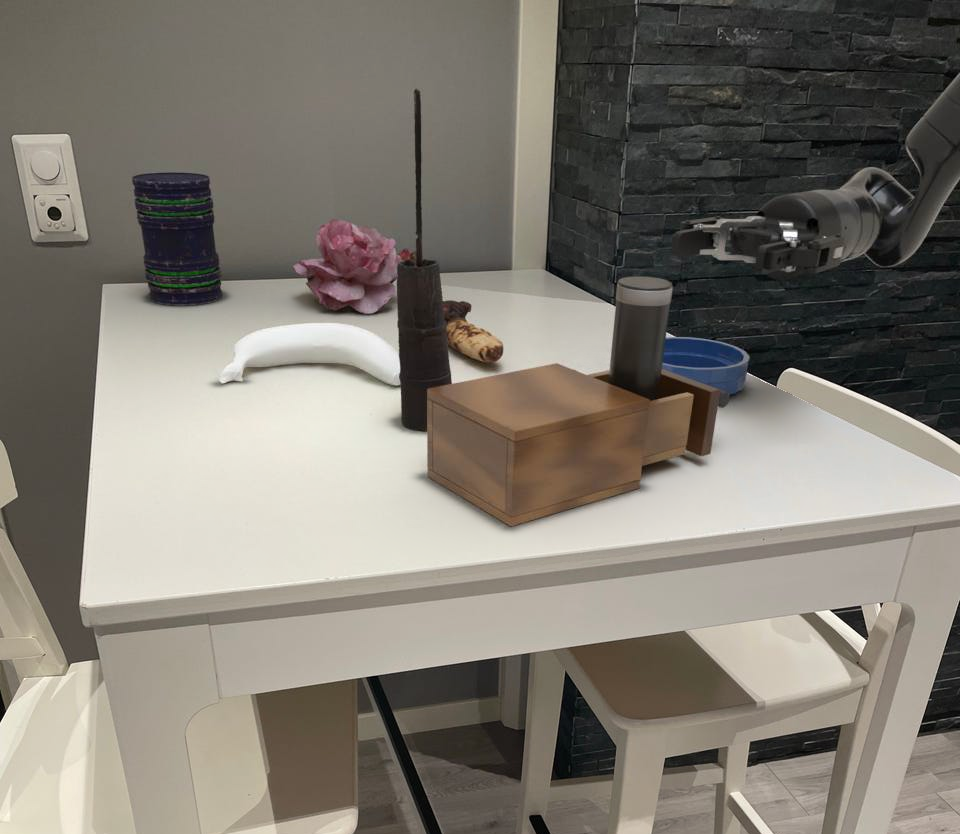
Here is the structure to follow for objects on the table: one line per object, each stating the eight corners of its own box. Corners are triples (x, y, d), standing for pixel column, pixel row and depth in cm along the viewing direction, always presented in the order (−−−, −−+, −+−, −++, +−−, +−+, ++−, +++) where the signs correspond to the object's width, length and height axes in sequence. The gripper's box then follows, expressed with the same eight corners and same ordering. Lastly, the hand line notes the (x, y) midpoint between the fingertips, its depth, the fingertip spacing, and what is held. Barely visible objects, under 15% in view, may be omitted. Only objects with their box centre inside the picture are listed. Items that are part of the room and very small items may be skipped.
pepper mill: (664, 437, 86) (684, 284, 79) (627, 447, 83) (644, 290, 76) (629, 422, 89) (645, 274, 82) (592, 431, 86) (606, 279, 79)
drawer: (659, 412, 95) (667, 352, 92) (741, 445, 88) (752, 381, 84) (526, 445, 86) (529, 381, 83) (605, 484, 79) (612, 415, 76)
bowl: (767, 390, 104) (773, 357, 102) (688, 410, 98) (693, 376, 96) (684, 362, 113) (688, 331, 111) (606, 378, 106) (609, 346, 104)
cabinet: (551, 445, 89) (556, 362, 85) (639, 488, 81) (650, 399, 77) (427, 476, 82) (426, 388, 78) (510, 526, 74) (515, 431, 70)
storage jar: (195, 285, 139) (181, 170, 131) (238, 297, 133) (226, 178, 125) (134, 296, 132) (115, 176, 124) (176, 309, 127) (159, 184, 119)
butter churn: (389, 399, 99) (380, 82, 84) (481, 407, 97) (489, 86, 82) (364, 430, 91) (351, 87, 76) (464, 438, 90) (470, 91, 75)
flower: (270, 276, 132) (283, 203, 126) (360, 278, 141) (376, 210, 135) (325, 331, 125) (342, 256, 118) (416, 330, 134) (436, 260, 128)
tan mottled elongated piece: (391, 339, 119) (443, 379, 105) (389, 300, 116) (441, 335, 102) (462, 331, 122) (521, 368, 108) (461, 292, 119) (521, 325, 105)
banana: (426, 375, 106) (346, 413, 95) (290, 355, 114) (202, 388, 103) (424, 329, 103) (342, 363, 92) (284, 312, 111) (194, 341, 100)
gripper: (748, 183, 97) (654, 196, 87) (885, 200, 88) (799, 217, 78) (736, 262, 101) (644, 284, 91) (866, 285, 92) (781, 312, 82)
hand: (716, 253), depth 84 cm, fingers open, 8 cm apart
